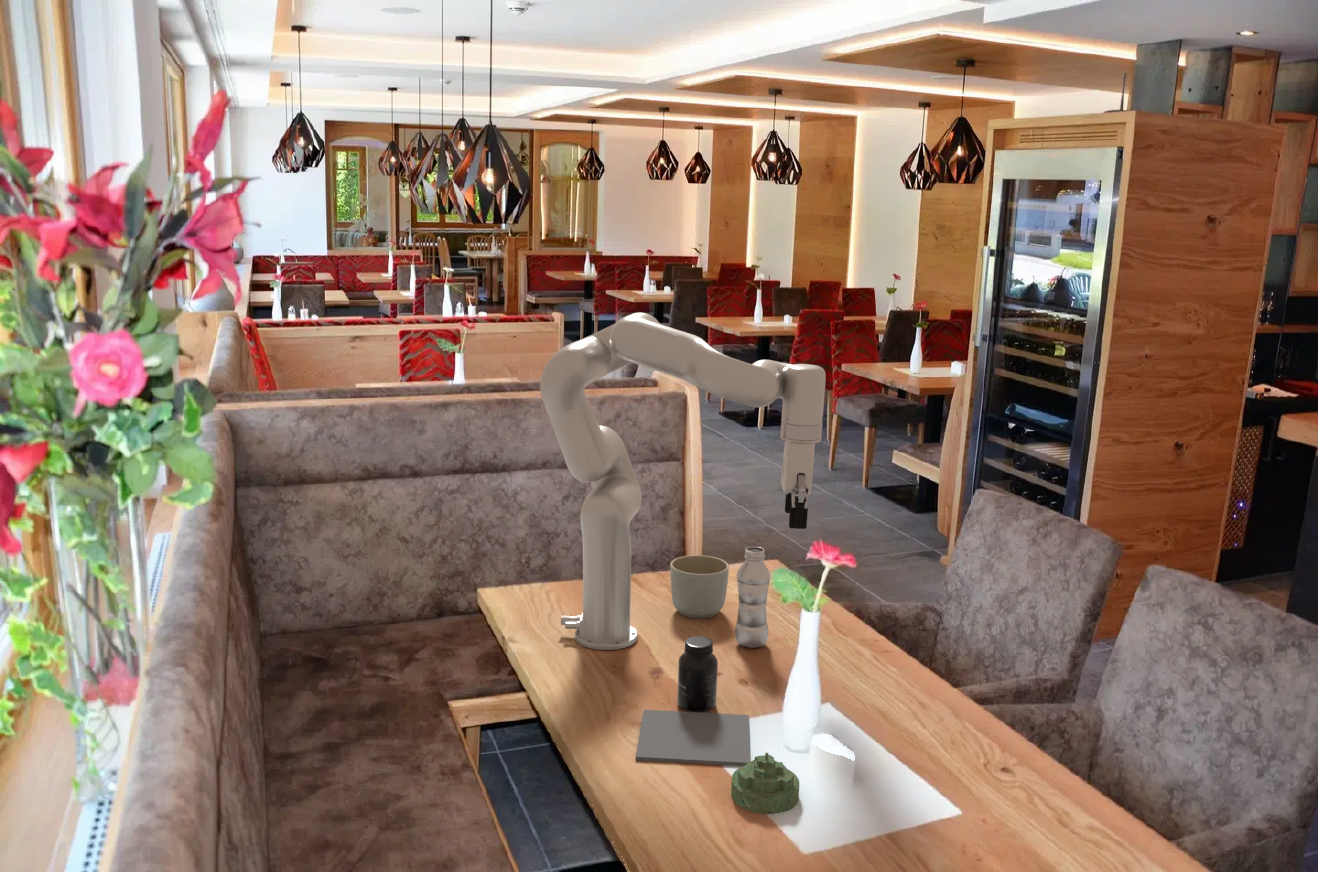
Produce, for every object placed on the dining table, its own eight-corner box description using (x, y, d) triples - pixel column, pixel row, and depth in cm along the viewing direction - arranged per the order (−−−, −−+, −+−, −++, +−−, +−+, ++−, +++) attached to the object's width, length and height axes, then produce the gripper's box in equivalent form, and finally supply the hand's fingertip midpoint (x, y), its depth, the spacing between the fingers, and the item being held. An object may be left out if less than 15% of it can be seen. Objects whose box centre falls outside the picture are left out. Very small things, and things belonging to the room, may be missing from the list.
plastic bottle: (769, 652, 209) (773, 555, 205) (734, 651, 209) (738, 554, 205) (766, 639, 216) (771, 544, 211) (733, 638, 216) (736, 543, 211)
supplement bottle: (670, 707, 186) (671, 643, 183) (688, 692, 191) (690, 629, 189) (705, 717, 182) (707, 652, 180) (723, 701, 188) (725, 638, 185)
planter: (661, 604, 233) (663, 557, 230) (715, 599, 236) (716, 553, 234) (679, 626, 221) (681, 576, 219) (735, 620, 225) (737, 571, 223)
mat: (635, 760, 168) (635, 756, 168) (643, 712, 183) (643, 709, 183) (750, 766, 167) (750, 762, 167) (748, 718, 182) (748, 714, 182)
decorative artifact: (721, 783, 162) (745, 819, 153) (723, 740, 161) (747, 774, 151) (782, 774, 165) (809, 809, 156) (784, 733, 163) (812, 765, 154)
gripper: (777, 421, 206) (772, 506, 209) (784, 441, 189) (778, 533, 192) (816, 422, 205) (810, 508, 209) (827, 443, 189) (820, 535, 192)
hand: (795, 520), depth 201 cm, fingers open, 9 cm apart
